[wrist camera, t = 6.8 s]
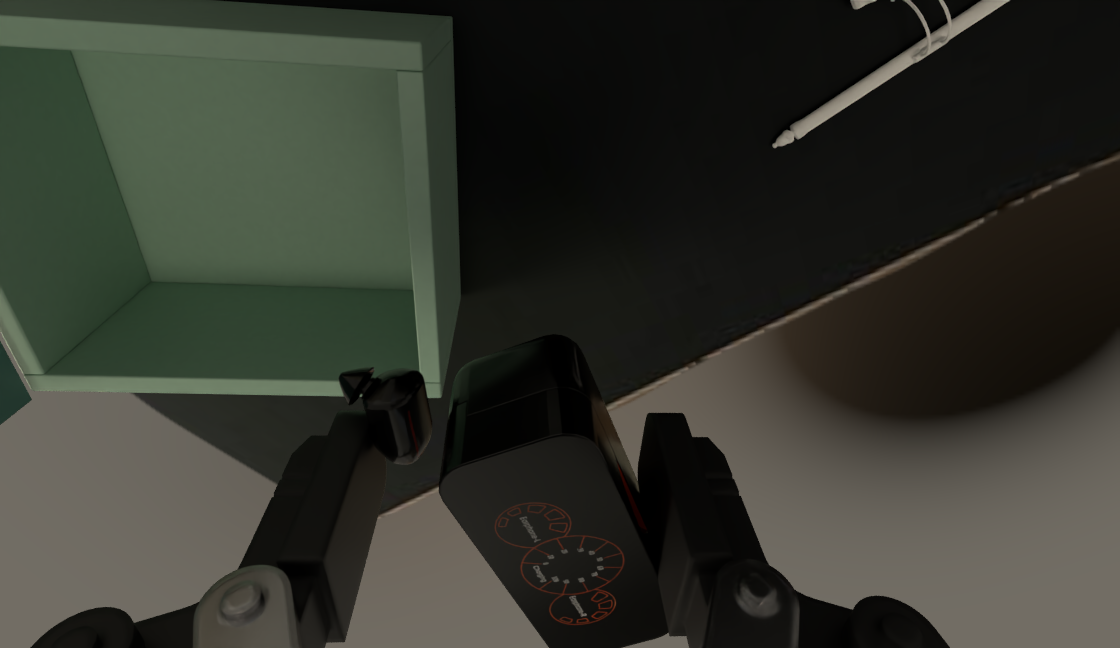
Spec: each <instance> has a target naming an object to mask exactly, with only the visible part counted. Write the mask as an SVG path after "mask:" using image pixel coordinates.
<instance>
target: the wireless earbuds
mask: <svg viewBox="0 0 1120 648" xmlns="http://www.w3.org/2000/svg"><path fill="white" fill-rule="evenodd" d="M373 373H374V367H363V368H358V369H352V370H348V371H345V372H342V373H341V374H340V376H339V378H338V379H339V384H340V387H341V389H342V392H343V395H344V397H345V399H346V401H347V403H348V405H352V404H353V403H354V402H355V401H356V400H357V399H358V398H359V396H360V395H361V394H362V399H363V405H364V409H365V412H366V416H367V419H368V423H369V426H370V429H371V435H372V440H373V444H374V446H375V448H376V449H377V450H378V451H379V452H380V453H381V454H382V455H384V456H385V457H386V458H387V459H388V460H390V461H392V462H393V463H397V464H403V465H406V464H411V463H413V462H415V461H416V460H417V459H418V458H419V457H420V456H421V455H422V453H423V452H424V450H425V448H426V446H427V444H428V442H429V439H430V436H431V432H432V419H431V413H430V408H429V403H428V397H427V392H426V386H425V381H424V377H423V375H422V374H421V373H420V372H419V371H417V370H414V369H408V368H399V369H393V370H389V371H385V372H383V373H380V374H379V375H378V376H377V377H376V378H374V377H372V375H373ZM371 377H372V378H371ZM439 494H440V496H441V498H442V500H443V502H444V503H445V505H446V506H447V508H448V509H449V510H450V512H451V513H452V514H453V516H454V517H455V519H456V520H457V521H458V523H459V524H460V525H461V527H462V528H463V530H464V531H465V532H466V534H467V535H468V537H469V538H470V539H471V541H472V542H473V543H474V545H475V546H476V548H477V549H478V550H479V552H480V553H481V554H482V556H483V557H484V558H485V560H486V561H487V563H488V564H489V565H490V567H491V568H492V569H493V571H494V572H495V574H496V575H497V576H498V578H499V579H500V581H501V582H502V583H503V585H504V586H505V588H506V589H507V590H508V592H509V593H510V594H511V596H512V597H513V599H514V600H515V601H516V603H517V604H518V606H519V607H520V608H521V610H522V611H523V612H524V614H525V615H526V617H527V618H528V619H529V621H530V622H531V623H532V625H533V626H534V628H535V629H536V630H537V632H538V633H539V635H540V636H541V637H542V639H543V640H544V641H545V643H546V644H547V645H548V647H549V648H622V647H626V646H629V645H633V644H637V643H641V642H645V641H649V640H652V639H656V638H659V637H661V636H664V635H665V634H667V633H669V631H668V626H667V621H666V617H665V612H664V607H663V602H662V598H661V593H660V588H659V583H658V579H657V578H658V573H657V568H656V564H655V560H654V555H653V551H652V546H651V542H650V538H649V535H648V531H647V524H646V520H645V516H644V511H643V507H642V502H641V498H640V494H639V487H638V481H637V479H636V476H635V474H634V472H633V469H632V467H631V465H630V463H629V460H628V458H627V455H626V453H625V451H624V448H623V446H622V444H621V441H620V439H619V437H618V434H617V432H616V429H615V427H614V425H613V422H612V420H611V418H610V415H609V413H608V411H607V408H606V406H605V404H604V401H603V399H602V397H601V394H600V392H599V390H598V387H597V385H596V383H595V380H594V378H593V376H592V373H591V371H590V369H589V366H588V364H587V362H586V359H585V357H584V355H583V353H582V351H581V349H580V348H579V346H578V345H577V344H576V343H575V342H574V341H572V340H571V339H569V338H568V337H565V336H563V335H556V334H552V335H546V336H542V337H539V338H536V339H533V340H531V341H528V342H525V343H522V344H519V345H516V346H513V347H510V348H507V349H504V350H502V351H499V352H496V353H493V354H490V355H487V356H484V357H481V358H478V359H475V360H473V361H471V362H470V363H468V364H466V365H465V366H463V367H462V368H461V369H460V370H459V372H458V373H457V375H456V378H455V380H454V383H453V387H452V394H451V401H450V408H449V416H448V423H447V430H446V437H445V444H444V452H443V459H442V466H441V473H440V481H439Z"/></svg>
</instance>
